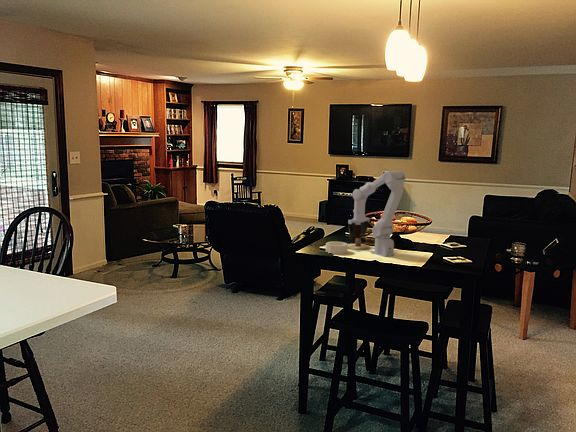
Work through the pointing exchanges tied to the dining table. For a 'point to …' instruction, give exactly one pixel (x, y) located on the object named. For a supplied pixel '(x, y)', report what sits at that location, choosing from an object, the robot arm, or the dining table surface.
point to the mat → (362, 250)
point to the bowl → (336, 247)
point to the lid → (358, 245)
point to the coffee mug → (358, 232)
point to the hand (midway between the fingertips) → (358, 235)
